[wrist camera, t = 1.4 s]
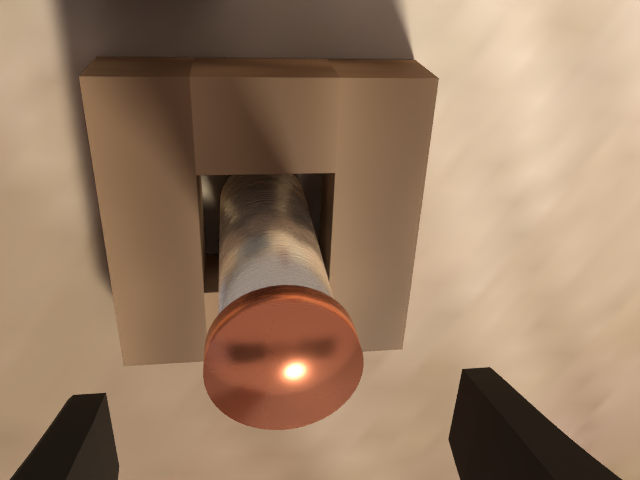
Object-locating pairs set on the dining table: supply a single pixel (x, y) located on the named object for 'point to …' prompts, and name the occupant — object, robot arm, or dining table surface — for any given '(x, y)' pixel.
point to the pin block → (254, 158)
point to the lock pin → (276, 312)
